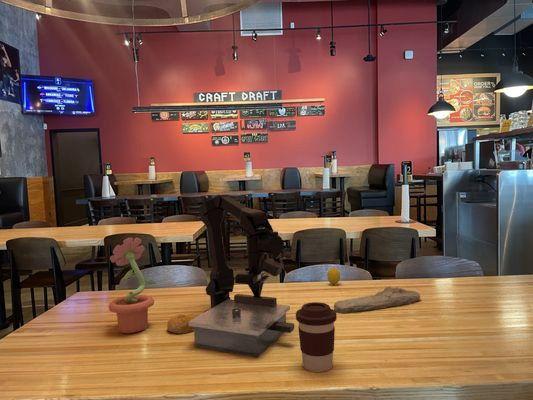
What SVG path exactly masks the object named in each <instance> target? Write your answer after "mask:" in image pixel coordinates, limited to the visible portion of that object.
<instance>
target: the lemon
mask: <svg viewBox="0 0 533 400" xmlns="http://www.w3.org/2000/svg"><path fill="white" fill-rule="evenodd" d="M326 278H327V280H328V281H327V282H329V283H330V284H332V285H333V286H335V285H336V284H338V283H339V282H340V280H341V273H340V269H338V268H337V267H335V266H332V267H331V268H329V269H328V270H327V275H326Z"/></svg>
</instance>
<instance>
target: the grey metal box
mask: <svg viewBox="0 0 533 400" xmlns="http://www.w3.org/2000/svg"><path fill="white" fill-rule="evenodd" d="M294 330H295V323H294V322H287V312H286V313H285V314H284V315H283V316H282V317H281V318H279V319H278V320H277V321H276V322H275V323H273V324H272V325H271V326H270V327H269V328H268V329H266V330H265V331H264V332H263V333H262V334H260V335H259V336H256V335H249V334H242V333H235V332H228V331H221V330H214V329H208V328H201V327H194V331H193V338H194V340H193V341H194V347H195V348H200V349H205V350H212V351H218V352H223V353H228V354H229V353H230V354H236V355H240V356H241V355H242V356H248V357H253V358H259V357H260V356H261V355H263V353H264V352H266V350H268V349H269V348H270V347H271V346H272V345H273V344H274V343H275V342H276V341H277V340H278V339H279V338H280V337H281V336H282V335H283V334H284V333H288V334H291V333H292V332H293V331H294Z"/></svg>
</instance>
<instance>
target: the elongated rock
mask: <svg viewBox="0 0 533 400" xmlns="http://www.w3.org/2000/svg"><path fill="white" fill-rule="evenodd" d="M420 299H421V295H420V293H419V292H417V291H414V290H407V289H405V288H401V287H400V288H399V287H397V286H396V287H391V286H390V285H389V286H385V288H383V290H381V291H379V292H376V293H375V294H374V295H366V296H362V297H360V296H359V297H355V298H350V299H349V298H348V299H345V300H338V301H336V302H335V303H333V310H334V311H335V312H336V314H349V313H355V312H368V311H374V310H382V309H385V308H390V307H397V306H402V305H410V304H412V303H414V302H417V301H419V300H420Z"/></svg>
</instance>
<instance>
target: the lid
mask: <svg viewBox="0 0 533 400" xmlns="http://www.w3.org/2000/svg"><path fill="white" fill-rule="evenodd" d="M277 299H278V298H277V297H270V296H262V295H261V296H254V295H253V294H251V295H250V294H241V293H236V294H234V295H233V298H232V299H228V300H226V301H224V302H222V303H221V304H219V305H217V306H215V307H213V308H212V309H211V308H209V309H210V310H209V309H208V310H207V311H205V312H203V313H201V314H199V315H197V316H195V317H196V318H194V319H192V320H190V321H189V326H194V327H201V328H208V329H214V330H221V331H228V332H235V333H242V334H249V335H256V336H259V335H260V334H262V333H263V332H264V331H265V330H266V329H268V328H269V327H270V326H271V325H272V324H273V323H275V322H276V321H277V320H278V319H279V318H281V317H282V316H283V315H284V314H285V313H286V314H287V312H289V311H290V310H291V305H286V304H280V303H279V304H278V303H277Z"/></svg>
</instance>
